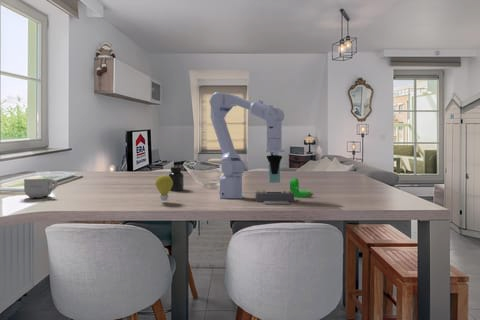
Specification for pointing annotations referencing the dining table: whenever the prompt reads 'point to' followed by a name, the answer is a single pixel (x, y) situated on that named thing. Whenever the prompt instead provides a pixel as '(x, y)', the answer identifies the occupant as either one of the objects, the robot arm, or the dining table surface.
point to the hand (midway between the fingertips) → (274, 173)
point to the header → (274, 196)
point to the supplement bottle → (177, 179)
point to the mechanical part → (297, 189)
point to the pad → (275, 202)
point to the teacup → (39, 187)
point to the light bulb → (164, 186)
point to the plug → (274, 175)
